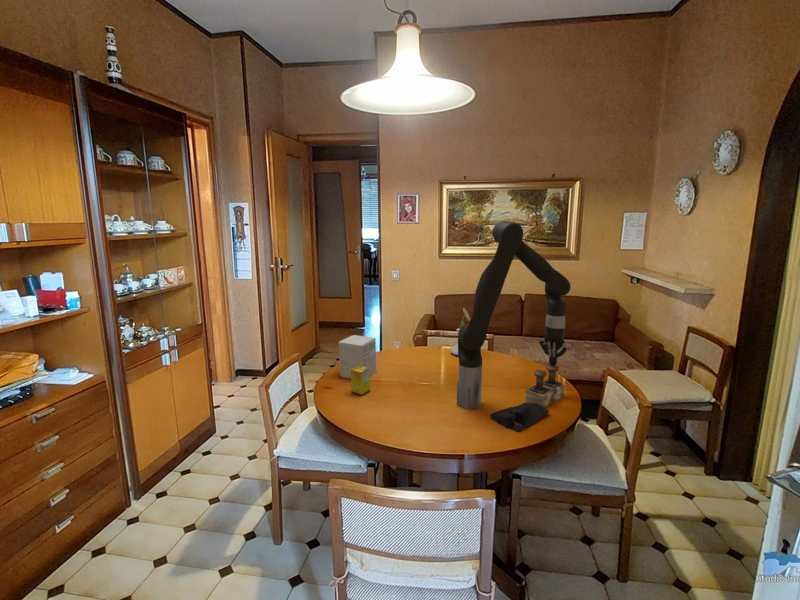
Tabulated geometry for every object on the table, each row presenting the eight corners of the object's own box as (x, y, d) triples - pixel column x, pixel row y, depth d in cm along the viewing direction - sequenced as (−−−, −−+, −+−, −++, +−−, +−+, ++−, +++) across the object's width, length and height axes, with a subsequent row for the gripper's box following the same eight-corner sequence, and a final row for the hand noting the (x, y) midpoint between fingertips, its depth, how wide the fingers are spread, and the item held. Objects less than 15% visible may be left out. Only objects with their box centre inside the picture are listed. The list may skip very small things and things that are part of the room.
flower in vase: (465, 358, 229) (466, 312, 224) (446, 355, 235) (446, 310, 230) (475, 351, 240) (476, 307, 234) (457, 348, 246) (457, 305, 240)
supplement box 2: (360, 388, 194) (359, 365, 192) (370, 391, 191) (369, 367, 189) (351, 392, 190) (350, 369, 187) (361, 396, 186) (360, 372, 184)
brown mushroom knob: (553, 384, 179) (554, 369, 178) (543, 380, 183) (544, 366, 181) (559, 381, 182) (560, 366, 181) (549, 378, 186) (550, 363, 184)
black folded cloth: (555, 418, 166) (556, 406, 165) (516, 435, 154) (516, 422, 153) (524, 403, 178) (524, 392, 177) (485, 418, 166) (485, 406, 165)
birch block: (542, 407, 173) (543, 394, 172) (525, 401, 179) (525, 387, 178) (563, 396, 183) (564, 383, 182) (546, 390, 189) (547, 377, 188)
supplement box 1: (377, 371, 213) (376, 337, 210) (362, 381, 202) (361, 345, 198) (354, 367, 219) (353, 334, 216) (339, 376, 208) (337, 341, 204)
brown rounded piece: (541, 390, 174) (542, 375, 172) (530, 386, 177) (531, 371, 176) (548, 387, 177) (548, 372, 175) (537, 383, 180) (538, 368, 179)
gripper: (535, 323, 180) (533, 363, 184) (565, 330, 170) (562, 372, 174) (545, 320, 184) (543, 359, 188) (575, 326, 175) (572, 367, 178)
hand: (552, 365), depth 181 cm, fingers closed
